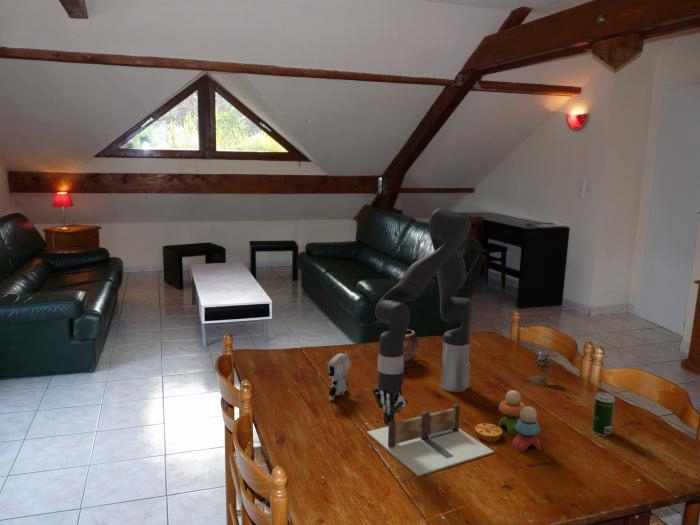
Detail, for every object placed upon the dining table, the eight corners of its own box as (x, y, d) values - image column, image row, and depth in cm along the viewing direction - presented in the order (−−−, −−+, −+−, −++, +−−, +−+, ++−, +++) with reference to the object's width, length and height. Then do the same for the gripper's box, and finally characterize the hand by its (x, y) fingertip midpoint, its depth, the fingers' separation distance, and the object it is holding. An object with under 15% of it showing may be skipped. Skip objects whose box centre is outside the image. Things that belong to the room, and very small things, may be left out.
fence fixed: (455, 427, 172) (456, 402, 171) (460, 430, 170) (461, 405, 169) (418, 437, 166) (419, 411, 164) (423, 440, 164) (424, 415, 162)
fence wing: (418, 436, 165) (419, 414, 164) (422, 439, 164) (423, 416, 162) (386, 444, 160) (387, 421, 159) (390, 447, 158) (391, 424, 157)
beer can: (615, 434, 170) (619, 397, 168) (602, 438, 168) (606, 400, 166) (600, 427, 175) (604, 390, 173) (587, 430, 173) (591, 393, 170)
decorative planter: (397, 353, 237) (398, 321, 235) (425, 358, 232) (426, 326, 229) (377, 368, 220) (378, 334, 217) (407, 374, 214) (408, 339, 212)
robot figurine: (560, 381, 211) (563, 351, 208) (557, 390, 202) (559, 358, 200) (529, 375, 216) (532, 346, 213) (525, 384, 207) (527, 353, 205)
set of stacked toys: (467, 430, 172) (469, 392, 169) (513, 421, 178) (515, 384, 176) (503, 459, 155) (507, 417, 153) (553, 448, 162) (556, 408, 159)
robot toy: (335, 404, 188) (336, 361, 185) (324, 401, 190) (325, 359, 187) (354, 391, 198) (355, 351, 195) (343, 388, 200) (344, 348, 198)
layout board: (436, 415, 181) (436, 413, 181) (493, 452, 159) (493, 450, 158) (367, 433, 169) (367, 431, 168) (417, 476, 146) (418, 474, 146)
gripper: (365, 364, 164) (364, 419, 167) (397, 378, 154) (395, 437, 157) (384, 359, 169) (382, 413, 172) (416, 372, 159) (414, 429, 162)
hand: (388, 424), depth 165 cm, fingers closed
